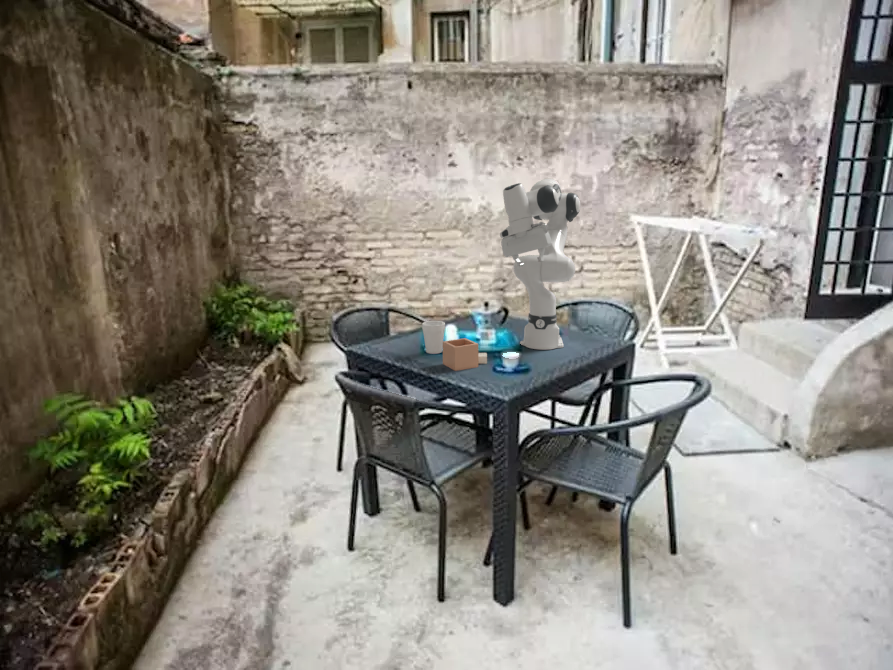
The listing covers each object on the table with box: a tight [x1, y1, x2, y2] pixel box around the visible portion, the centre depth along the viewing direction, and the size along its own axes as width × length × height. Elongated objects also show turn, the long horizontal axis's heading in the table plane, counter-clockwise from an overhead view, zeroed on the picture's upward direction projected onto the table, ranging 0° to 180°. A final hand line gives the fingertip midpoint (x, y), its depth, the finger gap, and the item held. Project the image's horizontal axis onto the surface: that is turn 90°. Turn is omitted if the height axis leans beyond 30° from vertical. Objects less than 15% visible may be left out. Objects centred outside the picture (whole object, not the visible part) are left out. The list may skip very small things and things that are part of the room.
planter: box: [442, 337, 479, 372], centre depth 227 cm, size 10×10×10 cm
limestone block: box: [478, 352, 488, 365], centre depth 232 cm, size 5×5×4 cm
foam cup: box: [421, 320, 446, 355], centre depth 246 cm, size 10×9×13 cm
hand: (530, 263), depth 223 cm, fingers open, 8 cm apart
